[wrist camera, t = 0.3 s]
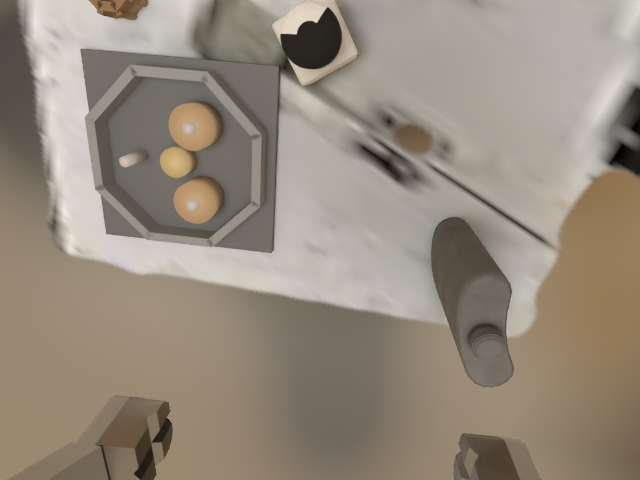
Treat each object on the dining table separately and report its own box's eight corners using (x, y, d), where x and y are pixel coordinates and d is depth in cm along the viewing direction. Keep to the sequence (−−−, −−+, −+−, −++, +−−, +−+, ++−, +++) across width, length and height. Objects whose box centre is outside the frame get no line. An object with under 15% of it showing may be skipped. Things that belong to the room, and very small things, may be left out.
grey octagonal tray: (85, 49, 52) (53, 46, 47) (280, 66, 51) (270, 65, 45) (110, 231, 63) (85, 246, 57) (272, 250, 61) (264, 267, 56)
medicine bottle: (359, 56, 50) (358, 52, 39) (309, 85, 52) (295, 88, 41) (333, -2, 48) (325, -24, 37) (282, 30, 49) (259, 18, 38)
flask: (426, 220, 57) (458, 291, 39) (468, 214, 56) (521, 283, 38) (436, 309, 63) (467, 407, 44) (474, 304, 62) (523, 403, 43)
